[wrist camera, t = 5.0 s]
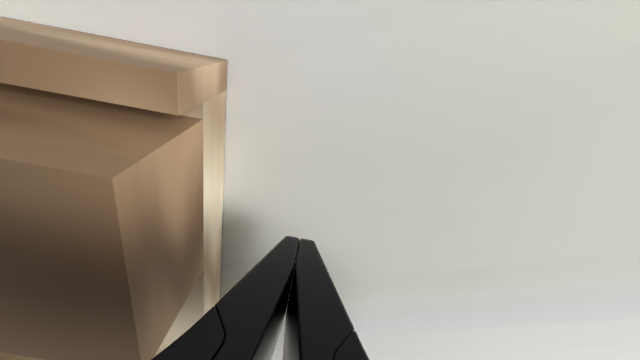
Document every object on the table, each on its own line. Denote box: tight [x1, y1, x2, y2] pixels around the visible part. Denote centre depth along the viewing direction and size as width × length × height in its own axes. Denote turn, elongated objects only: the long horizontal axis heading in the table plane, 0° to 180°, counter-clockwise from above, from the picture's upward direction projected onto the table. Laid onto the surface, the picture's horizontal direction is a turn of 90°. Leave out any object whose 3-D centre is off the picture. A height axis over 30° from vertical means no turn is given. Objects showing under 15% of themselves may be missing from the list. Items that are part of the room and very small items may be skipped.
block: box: [0, 83, 204, 360], centre depth 8 cm, size 6×6×4 cm
